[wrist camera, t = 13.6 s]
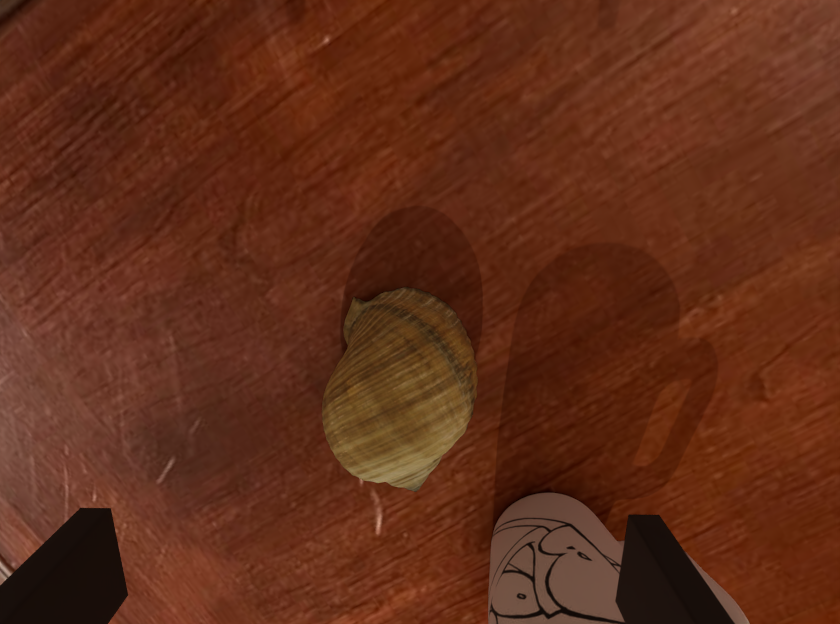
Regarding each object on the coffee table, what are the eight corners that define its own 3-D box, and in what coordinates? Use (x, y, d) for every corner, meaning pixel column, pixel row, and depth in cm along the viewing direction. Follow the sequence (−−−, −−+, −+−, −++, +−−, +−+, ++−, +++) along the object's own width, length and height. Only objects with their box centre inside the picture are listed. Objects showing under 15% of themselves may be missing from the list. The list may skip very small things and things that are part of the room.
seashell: (378, 289, 28) (258, 334, 22) (465, 253, 23) (337, 298, 17) (438, 440, 28) (334, 519, 23) (536, 436, 23) (433, 538, 18)
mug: (666, 453, 26) (807, 613, 16) (674, 576, 28) (802, 781, 19) (461, 485, 27) (480, 656, 17) (484, 602, 29) (513, 813, 19)
